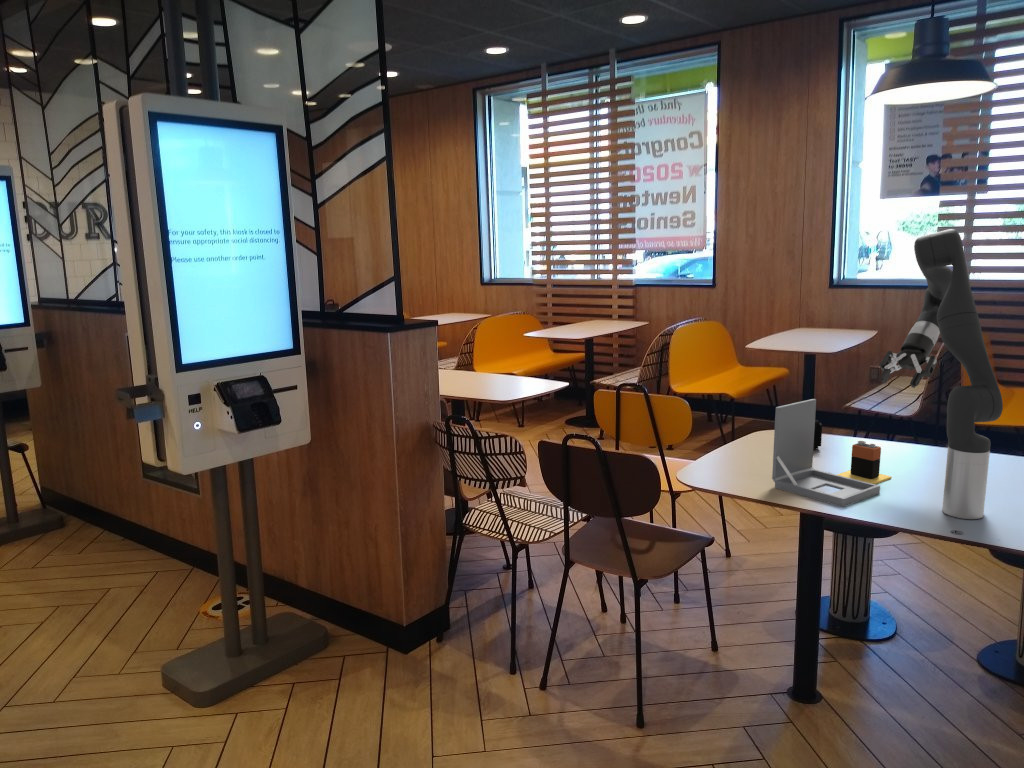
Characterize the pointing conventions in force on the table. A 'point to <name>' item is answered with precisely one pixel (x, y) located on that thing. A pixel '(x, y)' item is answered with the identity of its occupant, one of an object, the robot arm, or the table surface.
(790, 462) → the equipment case
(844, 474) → the yellow sticky note
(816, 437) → the cpu cooler
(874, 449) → the battery
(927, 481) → the table surface
